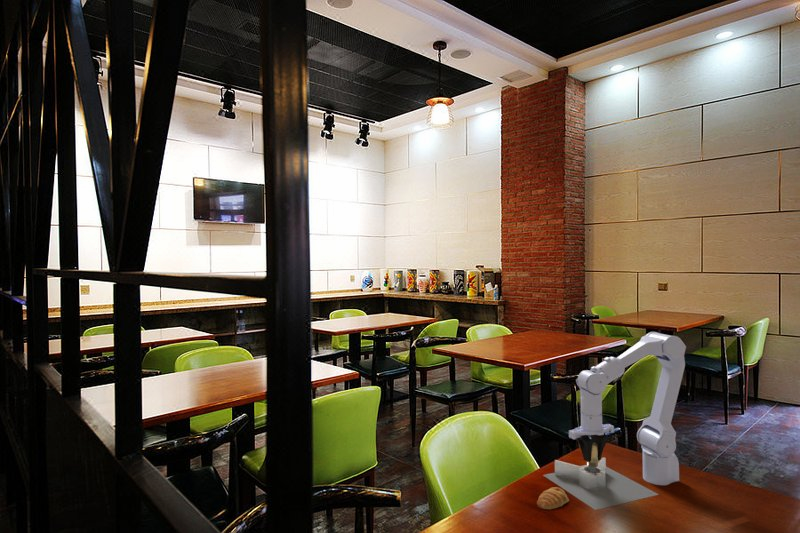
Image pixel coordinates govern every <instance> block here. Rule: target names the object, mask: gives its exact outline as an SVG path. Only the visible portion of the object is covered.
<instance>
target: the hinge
mask: <svg viewBox="0 0 800 533" xmlns="http://www.w3.org/2000/svg"><path fill="white" fill-rule="evenodd" d="M606 459H607V458H606V457H601V460H598V467H590V466H588V465H587V464H584V465H577V464H574V463H569V462H567V461H566V462H565V461H563V460H562V461H561V460H557V459H554V473H555V476H558V477H562V478H565V479H569V480H572V481H576V482H579V485H580V486H581V487H583V488H584V489H586V490H591V491H596V492H598V491H602V490H605V486H606V479H605V473H606V467H607V465H606V464H607V463H606V462H607V461H606Z"/></svg>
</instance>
